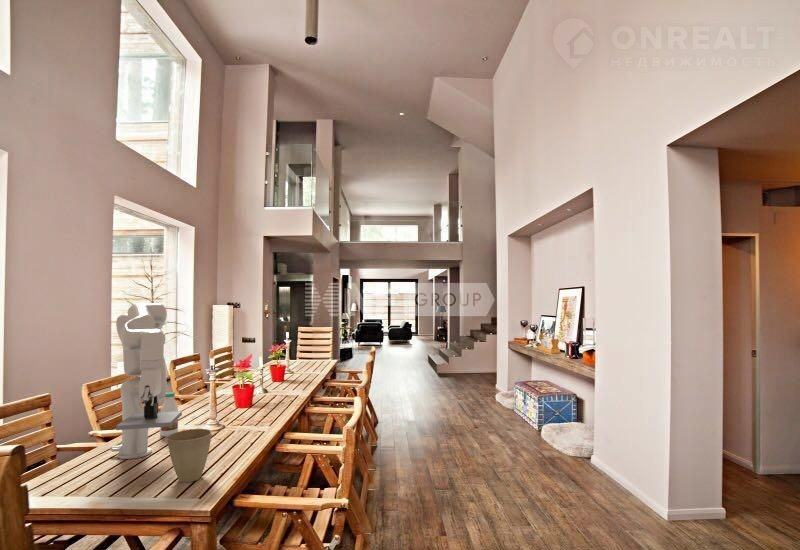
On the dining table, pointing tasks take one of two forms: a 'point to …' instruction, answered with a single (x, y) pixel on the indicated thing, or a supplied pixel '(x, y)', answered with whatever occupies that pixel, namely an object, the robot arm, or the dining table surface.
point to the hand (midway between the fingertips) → (151, 415)
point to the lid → (149, 420)
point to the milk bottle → (169, 407)
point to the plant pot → (189, 452)
